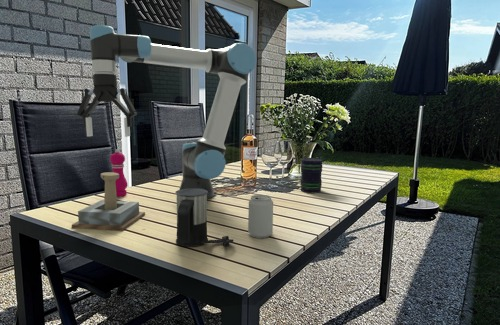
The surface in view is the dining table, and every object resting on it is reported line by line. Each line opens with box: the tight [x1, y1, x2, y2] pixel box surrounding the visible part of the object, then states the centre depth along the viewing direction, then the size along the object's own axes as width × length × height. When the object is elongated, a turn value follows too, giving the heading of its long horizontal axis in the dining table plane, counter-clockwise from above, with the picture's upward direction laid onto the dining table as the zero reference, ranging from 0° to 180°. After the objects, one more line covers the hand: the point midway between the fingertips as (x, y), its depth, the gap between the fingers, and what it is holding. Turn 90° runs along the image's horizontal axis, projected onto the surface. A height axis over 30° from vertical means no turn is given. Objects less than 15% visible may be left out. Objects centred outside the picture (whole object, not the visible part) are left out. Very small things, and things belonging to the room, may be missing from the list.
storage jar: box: [299, 157, 323, 194], centre depth 169 cm, size 10×10×15 cm
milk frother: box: [175, 188, 235, 248], centre depth 102 cm, size 14×16×15 cm
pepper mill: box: [109, 148, 128, 198], centre depth 155 cm, size 7×7×20 cm
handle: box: [100, 171, 119, 210], centre depth 120 cm, size 5×6×15 cm
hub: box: [71, 199, 146, 232], centre depth 121 cm, size 17×17×5 cm
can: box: [247, 194, 274, 239], centre depth 110 cm, size 8×8×12 cm
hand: (108, 136), depth 126 cm, fingers open, 13 cm apart
